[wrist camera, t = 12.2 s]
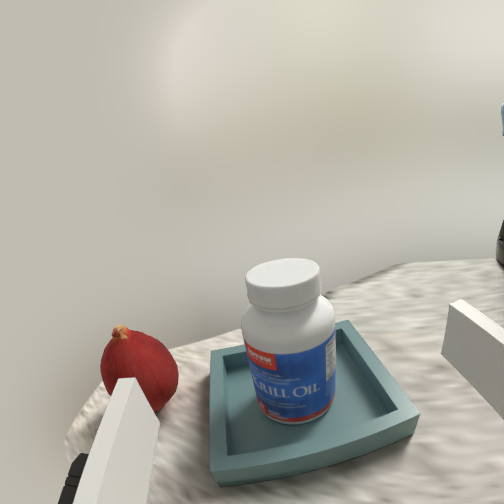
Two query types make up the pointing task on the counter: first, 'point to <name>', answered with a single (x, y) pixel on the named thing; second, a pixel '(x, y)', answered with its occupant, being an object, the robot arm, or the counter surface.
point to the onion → (140, 365)
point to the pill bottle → (290, 340)
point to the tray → (307, 434)
